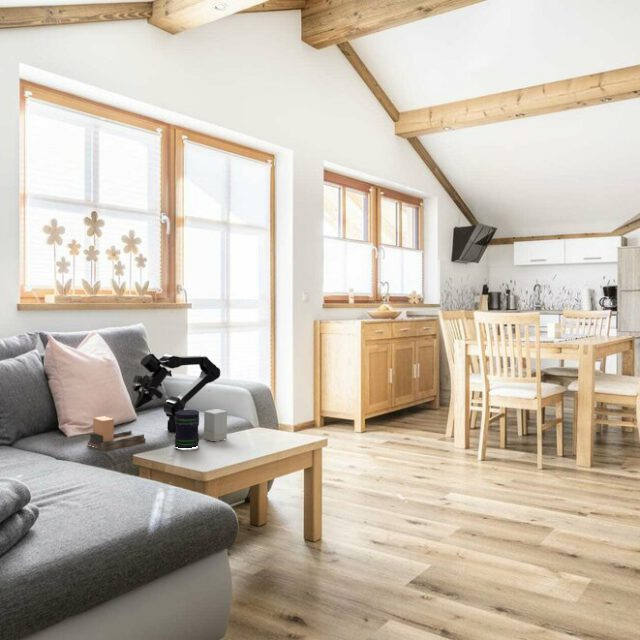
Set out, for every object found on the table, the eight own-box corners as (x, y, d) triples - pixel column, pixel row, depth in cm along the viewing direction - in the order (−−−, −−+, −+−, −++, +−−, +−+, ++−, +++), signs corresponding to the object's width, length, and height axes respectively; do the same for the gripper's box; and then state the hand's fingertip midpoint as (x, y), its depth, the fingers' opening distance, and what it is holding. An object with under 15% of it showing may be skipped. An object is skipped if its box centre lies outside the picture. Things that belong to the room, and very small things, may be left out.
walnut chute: (128, 436, 285) (128, 424, 284) (145, 441, 277) (145, 429, 277) (87, 445, 269) (87, 432, 269) (104, 451, 262) (104, 437, 261)
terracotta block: (103, 439, 272) (103, 416, 271) (113, 442, 268) (113, 419, 267) (93, 441, 268) (93, 418, 267) (102, 445, 264) (102, 420, 263)
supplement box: (227, 439, 285) (227, 411, 284) (213, 442, 280) (214, 413, 279) (216, 436, 290) (217, 408, 289) (203, 439, 285) (203, 410, 284)
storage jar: (169, 448, 268) (170, 413, 267) (183, 443, 277) (183, 408, 276) (190, 451, 265) (191, 415, 263) (203, 446, 274) (204, 411, 272)
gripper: (133, 366, 290) (112, 395, 283) (154, 369, 276) (132, 399, 270) (151, 381, 296) (130, 409, 289) (172, 384, 282) (150, 414, 275)
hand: (135, 407), depth 281 cm, fingers closed
